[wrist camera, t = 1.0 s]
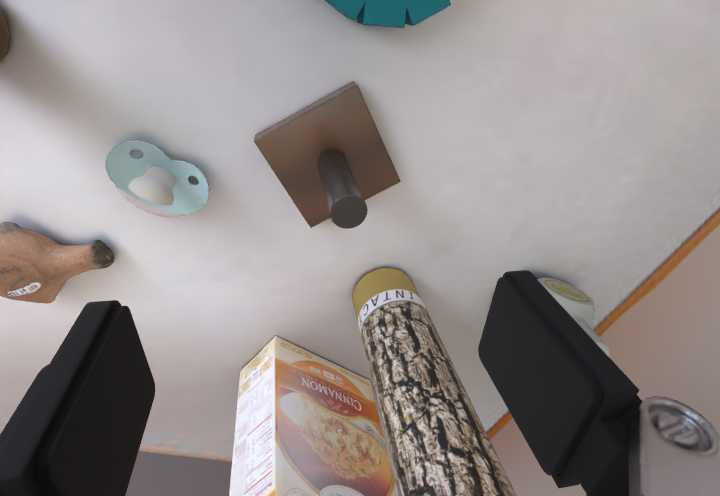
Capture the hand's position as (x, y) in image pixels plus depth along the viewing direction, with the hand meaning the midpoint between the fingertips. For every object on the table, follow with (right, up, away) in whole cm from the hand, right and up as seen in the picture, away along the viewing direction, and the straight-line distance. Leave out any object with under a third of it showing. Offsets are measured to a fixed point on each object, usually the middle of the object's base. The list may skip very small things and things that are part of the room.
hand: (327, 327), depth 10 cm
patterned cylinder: (+3, -2, +33) cm, 33 cm away
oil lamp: (-26, +2, +24) cm, 35 cm away
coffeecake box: (-5, -13, +38) cm, 41 cm away
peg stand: (-2, +10, +24) cm, 26 cm away
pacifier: (-15, +8, +22) cm, 28 cm away
